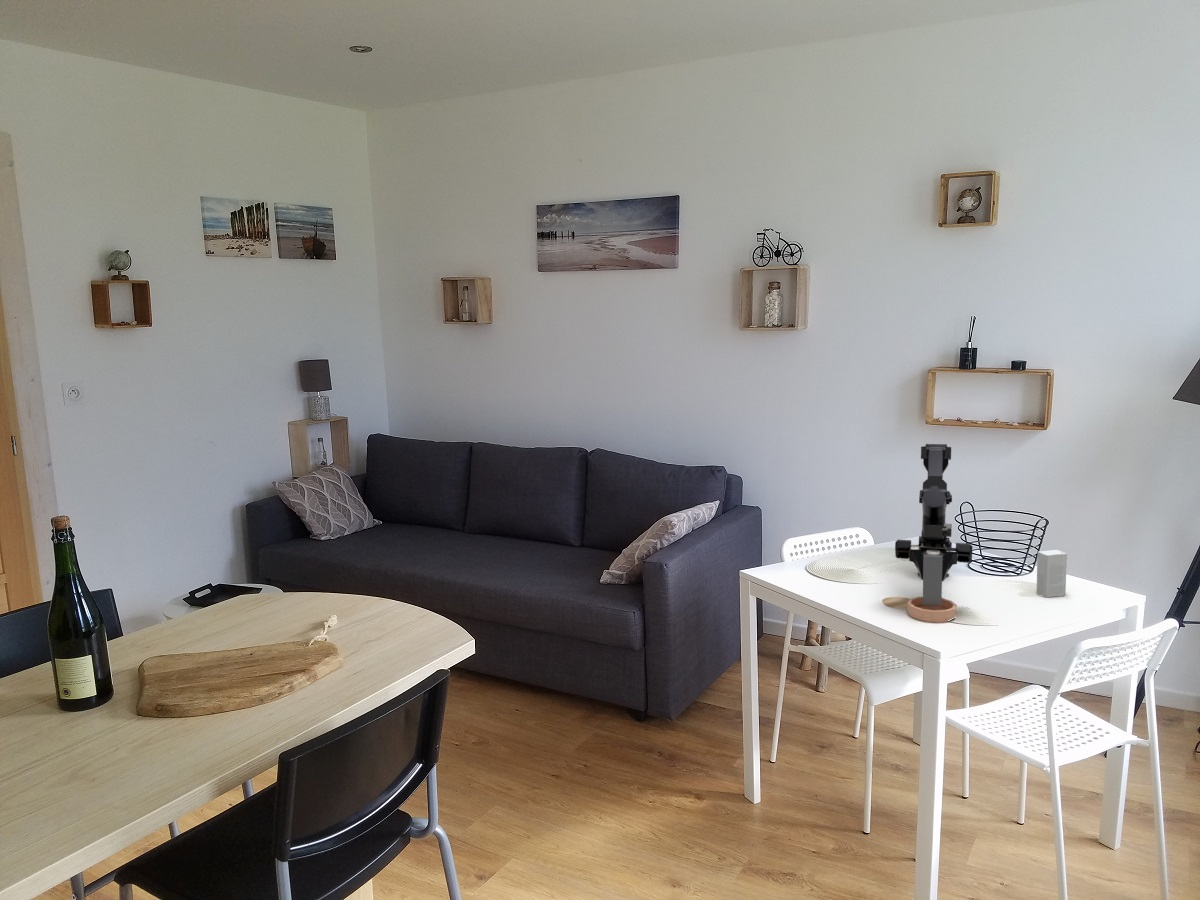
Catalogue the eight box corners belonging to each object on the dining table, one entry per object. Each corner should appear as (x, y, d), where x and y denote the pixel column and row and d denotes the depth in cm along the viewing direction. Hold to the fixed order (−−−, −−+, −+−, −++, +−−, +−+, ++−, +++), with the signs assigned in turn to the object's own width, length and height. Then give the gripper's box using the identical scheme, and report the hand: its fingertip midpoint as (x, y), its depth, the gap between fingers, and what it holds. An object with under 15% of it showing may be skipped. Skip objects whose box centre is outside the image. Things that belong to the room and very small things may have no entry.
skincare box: (1055, 591, 237) (1056, 549, 235) (1065, 596, 233) (1067, 553, 231) (1035, 593, 236) (1036, 551, 234) (1045, 598, 232) (1047, 555, 230)
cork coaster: (876, 605, 232) (876, 603, 232) (891, 596, 239) (891, 594, 238) (908, 612, 226) (908, 610, 226) (922, 603, 232) (922, 601, 232)
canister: (922, 599, 225) (923, 548, 223) (941, 600, 223) (942, 549, 221) (922, 604, 221) (923, 553, 219) (941, 606, 219) (942, 554, 217)
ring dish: (898, 613, 224) (898, 602, 224) (927, 604, 230) (927, 593, 230) (936, 626, 214) (936, 614, 214) (965, 616, 220) (965, 605, 220)
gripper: (895, 509, 225) (893, 562, 217) (973, 513, 218) (973, 567, 210) (896, 531, 234) (894, 582, 225) (971, 535, 227) (971, 588, 219)
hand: (932, 579), depth 220 cm, fingers closed on canister, 4 cm apart
